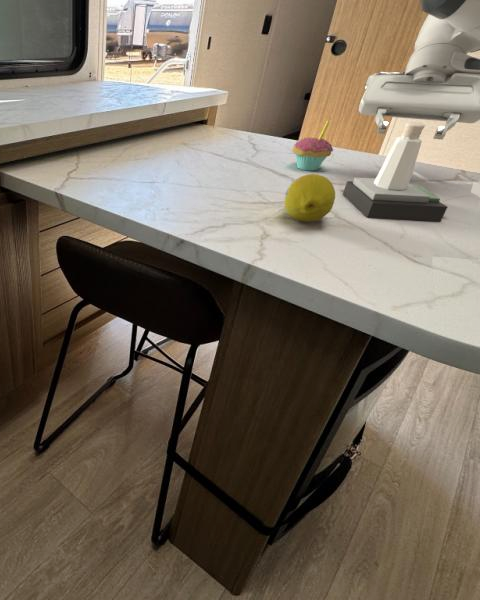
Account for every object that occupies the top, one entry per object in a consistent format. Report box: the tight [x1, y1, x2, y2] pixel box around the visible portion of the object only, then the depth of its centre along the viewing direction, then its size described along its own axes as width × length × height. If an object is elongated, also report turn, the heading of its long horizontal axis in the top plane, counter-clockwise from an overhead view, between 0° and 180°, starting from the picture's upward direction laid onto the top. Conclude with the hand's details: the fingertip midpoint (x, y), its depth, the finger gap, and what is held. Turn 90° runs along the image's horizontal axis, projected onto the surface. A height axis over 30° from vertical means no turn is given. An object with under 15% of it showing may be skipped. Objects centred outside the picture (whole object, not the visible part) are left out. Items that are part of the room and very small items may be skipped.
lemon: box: [284, 173, 336, 223], centre depth 72 cm, size 11×8×8 cm
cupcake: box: [291, 116, 334, 172], centre depth 99 cm, size 9×8×12 cm
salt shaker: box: [374, 122, 426, 191], centre depth 75 cm, size 5×5×11 cm
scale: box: [342, 177, 448, 223], centre depth 79 cm, size 12×13×4 cm
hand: (409, 134), depth 81 cm, fingers open, 8 cm apart
